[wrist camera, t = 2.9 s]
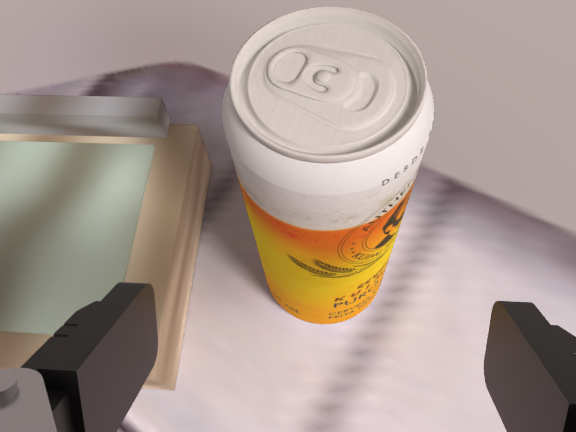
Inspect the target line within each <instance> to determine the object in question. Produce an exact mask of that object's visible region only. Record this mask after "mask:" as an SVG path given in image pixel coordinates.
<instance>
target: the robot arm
mask: <svg viewBox="0 0 576 432" xmlns="http://www.w3.org/2000/svg"><path fill="white" fill-rule="evenodd" d="M157 352H158V332H157V320H156V308H155V295H154V289H153V287H152V285H151V284H149V283H128V282H119V283H117V284H116V285H115V286H114V287H113V288H112V289H111V291H110V292H109V293H108V294H107V295H106V296H105V297H104V298H103V299H102V300H101V301H94V302H92V303H90V304H89V305H87V306H85V307H83V308H81V309H79V310H77V311H76V312H75V313H74V314H73V315H72V316H71V317H70V318H69V319H68V320H67V321H66V322H65V323H64V326H61V327H60V328H59V329H58V330H57V331H56V332H55V333H54V334H53V337H50V338H49V339H48V340H47V341H46V342H45V343H44V344H43V345H42V346H41V347H40V348H39V349H38V350H37V351H36V352H35V353H34V354H33V355H32V356H31V357H30V358H29V359H28V360H27V361H26V362H25V363H24V364H23V365H22V366H21V367H20V368H10V369H4V370H0V432H117V430H118V428H119V426H120V425H121V423H122V421H123V419H124V418H125V416H126V414H127V412H128V411H129V409H130V407H131V405H132V404H133V402H134V400H135V398H136V397H137V395H138V393H139V391H140V390H141V388H142V386H143V384H144V383H145V381H146V379H147V377H148V376H149V374H150V372H151V370H152V369H153V367H154V364H155V361H156V358H157ZM484 376H485V382H486V386H487V389H488V391H489V393H490V396H491V398H492V400H493V402H494V404H495V406H496V409H497V411H498V413H499V415H500V417H501V419H502V422H503V424H504V426H505V428H506V430H507V432H576V337H575V336H573V335H572V334H570V333H569V332H567V331H566V330H564V329H562V328H561V327H559V326H558V325H550V324H549V322H548V321H547V320H546V319H545V317H544V316H543V315H542V314H541V312H540V311H539V310H538V309H537V307H536V306H535V305H534V304H533V303H530V302H509V301H496V302H495V304H494V306H493V309H492V314H491V320H490V327H489V333H488V339H487V346H486V352H485V359H484Z"/></svg>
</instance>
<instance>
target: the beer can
mask: <svg viewBox="0 0 576 432" xmlns="http://www.w3.org/2000/svg"><path fill="white" fill-rule="evenodd" d="M434 111H435V108H434V98H433V94H432V91H431V87H430V85H429V82H428V78H427V70H426V66H425V62H424V60H423V57H422V55H421V53H420V51H419V50H418V48H417V46H416V45H415V44H414V43H413V41H412V40H411V39H410V38H409V37H408V36H407V35H406V34H405V33H404V32H403V31H402V30H400V29H399V28H398V27H397V26H395V25H394V24H392V23H391V22H389V21H387V20H385V19H383V18H381V17H379V16H376V15H374V14H372V13H369V12H365V11H362V10H358V9H353V8H346V7H332V6H327V7H314V8H307V9H303V10H298V11H295V12H291V13H288V14H286V15H283V16H281V17H278V18H276V19H274V20H272V21H271V22H269V23H267V24H266V25H264V26H263V27H261V28H260V29H259V30H257V31H256V32H255V33H254V34H253V35H252V36H251V37H250V38H249V39H248V40H247V41H246V42H245V43H244V45H243V46H242V47H241V49H240V51H239V52H238V54H237V56H236V58H235V60H234V62H233V66H232V69H231V74H230V81H229V83H228V85H227V87H226V90H225V94H224V97H223V103H222V120H223V127H224V130H225V134H226V138H227V141H228V145H229V148H230V152H231V155H232V159H233V162H234V166H235V170H236V173H237V177H238V180H239V184H240V187H241V191H242V195H243V198H244V202H245V205H246V209H247V212H248V216H249V220H250V223H251V227H252V230H253V234H254V237H255V241H256V245H257V248H258V252H259V255H260V259H261V262H262V266H263V270H264V273H265V277H266V280H267V284H268V287H269V289H270V291H271V293H272V295H273V297H274V298H275V300H276V301H277V302H278V304H279V305H280V306H281V307H282V308H283V309H284V310H286V311H287V312H288V313H290V314H291V315H293V316H294V317H296V318H299V319H301V320H303V321H306V322H310V323H315V324H333V323H339V322H343V321H345V320H348V319H350V318H352V317H354V316H356V315H357V314H359V313H360V312H362V311H363V310H364V309H365V308H366V307H367V306H368V305H369V304H370V303H371V302H372V300H373V299H374V297H375V296H376V294H377V292H378V289H379V287H380V284H381V281H382V278H383V275H384V272H385V269H386V266H387V263H388V260H389V257H390V254H391V251H392V248H393V245H394V242H395V239H396V236H397V233H398V230H399V227H400V224H401V221H402V218H403V215H404V212H405V209H406V206H407V203H408V200H409V197H410V194H411V191H412V188H413V185H414V182H415V179H416V176H417V173H418V170H419V167H420V164H421V161H422V157H423V155H424V152H425V148H426V145H427V142H428V139H429V136H430V133H431V130H432V127H433V122H434Z"/></svg>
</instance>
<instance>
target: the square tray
mask: <svg viewBox="0 0 576 432" xmlns="http://www.w3.org/2000/svg"><path fill="white" fill-rule="evenodd" d="M170 121H171V119H170V117H169V114H168V112H167V110H166V107H165V105H164V102H163V100H162V98H158V97H106V96H53V95H1V94H0V370H4V369H10V368H20V367H21V366H22V365H23V364H24V363H25V362H26V361H27V360H28V359H29V358H30V357H31V356H32V355H33V354H34V353H35V352H36V351H37V350H38V349H39V348H40V347H41V346H42V345H43V344H44V343H45V342H46V341H47V340H48V339H49V338H50V337H53V334H54V333H55V332H56V331H57V330H58V329H59V328H60V327H61V326H64V323H65V322H66V321H67V320H68V319H69V318H70V317H71V316H72V315H73V314H74V313H75V312H76V311H77V310H79V309H81V308H83V307H85V306H87V305H89V304H90V303H92V302H94V301H101V300H102V299H103V298H104V297H105V296H106V295H107V294H108V293H109V292H110V291H111V289H112V288H113V287H114V286H115V285H116V284H117V283H119V282H128V283H149V284H151V285H152V287H153V289H154V295H155V308H156V320H157V332H158V352H157V358H156V361H155V364H154V367H153V369H152V370H151V372H150V374H149V376H148V377H147V379H146V381H145V383H144V384H143V386H142V388H146V389H160V390H175V385H176V379H177V373H178V367H179V360H180V354H181V348H182V342H183V336H184V330H185V324H186V318H187V312H188V306H189V300H190V294H191V288H192V282H193V276H194V270H195V264H196V258H197V251H198V245H199V239H200V233H201V227H202V221H203V215H204V209H205V203H206V197H207V191H208V185H209V179H210V173H211V167H212V165H211V162H210V159H209V156H208V154H207V151H206V148H205V145H204V142H203V140H202V137H201V134H200V131H199V128H198V125H181V124H170Z"/></svg>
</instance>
